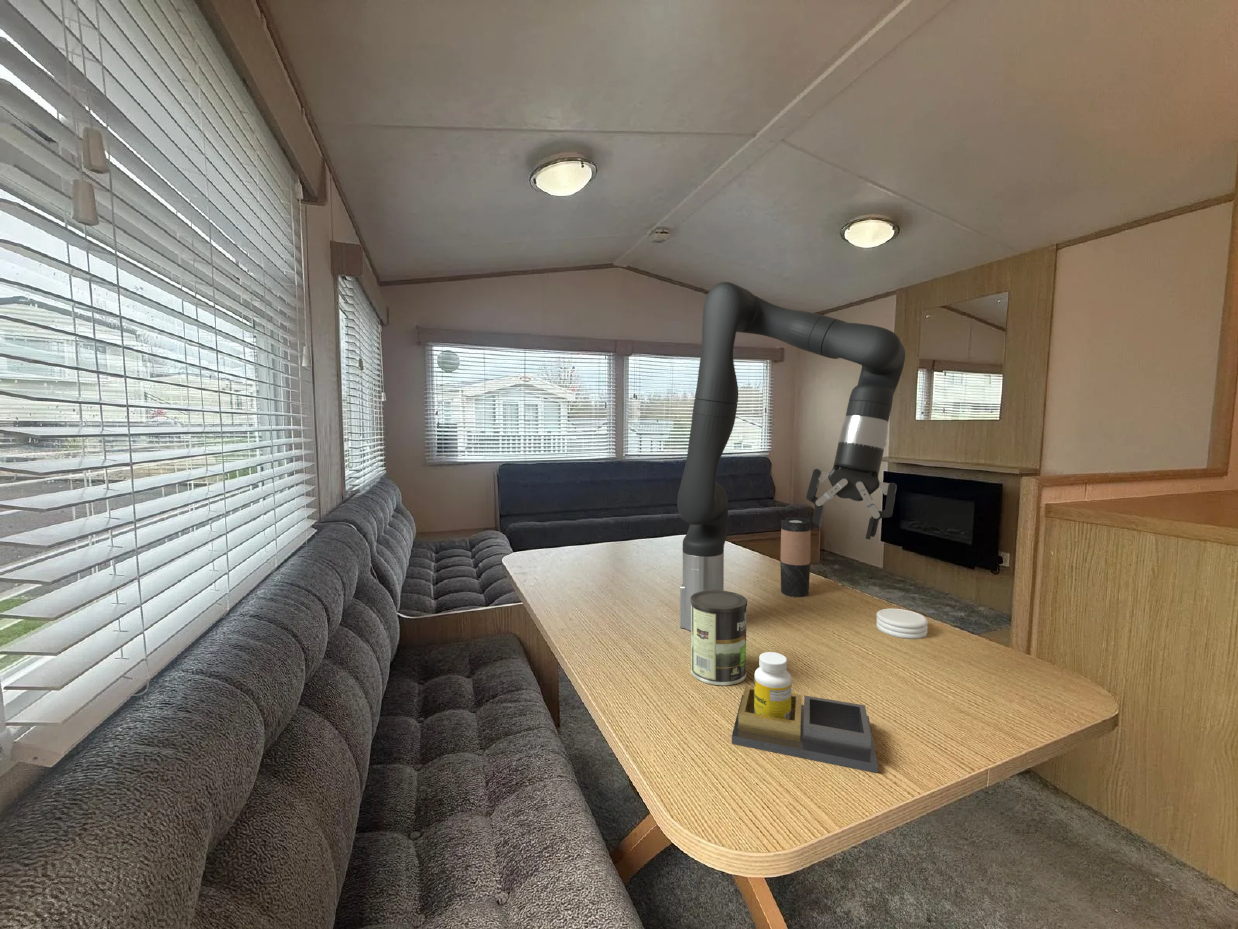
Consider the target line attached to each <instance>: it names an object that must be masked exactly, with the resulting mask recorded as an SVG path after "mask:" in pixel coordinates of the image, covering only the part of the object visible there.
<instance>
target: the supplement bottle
mask: <svg viewBox="0 0 1238 929" xmlns="http://www.w3.org/2000/svg"><path fill="white" fill-rule="evenodd" d="M758 660H759V662H758V663H759V667H758V668H756V670H755V671H754V682H753V683H754V684H753V685H754V686H753V687H754V714H759V715H765V716H770V717H776V718H781V719H787V720H791V693H792V679H793V678H792V675H791V673H790V672H789V671H788V670H787V669H788V660H787V657H786V656H784V655H783V654H781V653H778V652H774V651H772V652H771V651H767V652H766V651H765V652H763V653H761V654H760V655H759V659H758Z"/></svg>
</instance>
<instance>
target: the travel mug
mask: <svg viewBox="0 0 1238 929" xmlns="http://www.w3.org/2000/svg"><path fill="white" fill-rule="evenodd" d="M811 521H812V520H810V519H808V518H802V517H786V518H785V519H784V520H783V519H781V522H780V527H781V528H780V530H781V531H780V557H779V558H780V591H781V594H783V595H786V596H787V597H792V596H793V598H801V597H802V598H804V597H808V596H809V593H810V592H809V590H810V576H811V575H810V574H811V573H810V572H811V529H812V528H811V527H812V525H811V524H812V523H811ZM803 596H804V597H803Z"/></svg>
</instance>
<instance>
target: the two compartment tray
mask: <svg viewBox="0 0 1238 929" xmlns="http://www.w3.org/2000/svg"><path fill="white" fill-rule="evenodd" d="M744 686H745V687H744V689H743V694H742V695H741V698H740V702H739V706H738V709H737V714H736V718H735V722H734V725H733V729H732V733H731V744H732V745H736V746H741V747H747V748H753V749H755V750H756V749H757V750H761V751H762V750H763V751H765V752H771V753H778V754H783V755H786V756H791V757H796V758H800V759H801V758H802V759H806V760H811V761H817V762H821V763H827V764H831V765H835V766H841V767H846V768H850V769H855V770H861V771H865V772H871V773H877V774H878V771H879V770H878V769H879V764H878V757H877V752H876V749H875V742H874V737H873V732H872V727H871V722H870V721H871V720H870V717H869V715H868V713H867V709H866V705H865V704H861V703H860V704H859V703H854V702H853V703H852V702H846V701H840V700H835V699H829V698H822V697H815V696H810V695H803V696H804V697H802V694H799V693H797V694H796V693H793V692H791V720H787V719H781V718H776V717H770V716H765V715H759V714H754V686H748V685H744ZM802 698H804V699H802ZM802 700H803V704H802Z"/></svg>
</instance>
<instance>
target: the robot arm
mask: <svg viewBox="0 0 1238 929" xmlns="http://www.w3.org/2000/svg"><path fill="white" fill-rule="evenodd" d="M702 310H703V311H702V324H701V325H702V327H701V328H702V330H701V332H702V333H701V349H700V359H699V367H698V374H697V383H696V390H695V395H694V400H693V407H692V412H691V413H692V416H691V422H690V423H691V424H690V432H689V438H688V446H687V454H686V459H685V460H686V461H685V465H684V469H683V474H682V477H681V482H680V486H679V488H678V489H679V490H678V493H677V500H676V504H677V505H676V506H677V510H678V513H679V515H680V517H681V518H682V520H683V521H684V522H686V523H687V524H689V527H688V530H687V532H686V534H685V536H684V537H683V539H682V584H681V585H680V588H679V589H680V590H679V594H680V595H679V596H680V597H679V598H680V599H679V603H680V604H679V605H680V606H679V607H680V608H679V610H680V611H679V612H680V613H679V614H680V615H679V618H680V620H679V628H682V629H686V630H687V631H690V632H691V602H690V597H691V596H692V595H693V594H695V593H697V592H701V591H709V590H721V591H725V590H724V589H725V588H724V586H725V585H724V584H725V583H724V582H725V580H724V579H725V578H724V574H725V567H724V566H725V559H724V558H725V543H726V540H727V536H728V523H729V501H728V495H727V492H726V490H725V489H724V487H723V486H722V485H721V484H720V482H719V483H718V482H717V476H718V475H717V473H718V467H719V464H720V460H721V458H722V455H723V454H724V450H725V448H726V446H727V444H728V442H729V439H730V438H731V435H732V432H733V429H734V426H735V421H736V418H737V417H736V416H737V410H738V402H739V386H738V385H739V384H738V379H737V373H736V369H735V362H734V361H735V360H734V348H735V341H736V335H737V333H742V334H753V335H757V336H758V335H759V336H765V337H768V338H772V339H775V340H779V341H781V342H783V343H786V344H788V345H789V346H792V347H795V348H797V349H800V350H802V351H806V352H808V353H812V354H815V355H818V356H821V357H825V358H828V359H833V360H838V359H842V360H845V361H849V362H852V363H855V364H856V365H857V364H858V365H860V366H861V370H860V374H859V378H858V382H857V385H856V386H854V387H853V388H852V390H851V393H850V395H849V398H848V403H847V408H846V413H845V417H844V421H843V423H842V426H841V429H840V433H839V439H838V441H837V442H838V443H837V447H836V451H835V452H836V453H835V457H834V462H833V466H832V469H831V470H830V472H828V471H823V470H821V469H819V468H815V469H814V470H813V471H812V474H811V478H810V482H809V486H808V489H807V494H806V495H805V496H806V497H805V498H806V500H807V501H809V502H811V503H812V504H814V510H813V514H812V520H811V521H812V523H813V524H814V527H816V528H821V526H822V521H823V517H824V516H823V515H824V511H825V507H824V505H826V504H827V503H828V502H829V501H831V500H833V499H834V497H836V496H837V497H838V498H840V499H850V500H852V501H855V502H862V501H863V502H864V504H865V506H866V507H867V509H868V511H869V512H870V515H871V517H870V518H869V521H868V525H867V528H866V529H867V530H866V533H865V534H866V535H865V539H866V540H871V538H874V537H876V535H877V531H878V527H879V522H880V520H881V519H885V518H892V516H893V514H894V507H895V499H896V492H897V484H896V483H894V482H889V483H888V482H883V481H880V480H879V474H880V469H881V465H882V460H883V456H884V452H885V447H886V445H887V438H888V428H889V426H888V425H889V421H890V417H891V412H892V411H891V410H892V407H893V401H894V395H895V392H896V390H897V387H898V385H899V382H900V379H901V376H902V372H903V369H904V366H905V361H906V350H905V346H904V345H903V343H902V341H901V340H900V338H899V336H898V335H897V333H895V332H893V331H892V330H891V329H887V328H885V327H882V326H878V325H873V324H867V323H856V322H848V321H844V320H841V319H838V318H835V317H832V316H831V317H830V316H827V315H825V314H819V313H815V312H811V311H805V310H795V309H790V308H786V307H782V306H779V305H775V304H774V303H773V304H772V303H771V302H768V301H766V300H764V299H762V298H761V297H758V296H757V295H755V294H753V293H752V292H751V291H750V290H748V289H747V288H744V287H741V286H739V285H737V284H735V283H733V282H728V281H721V282H719V283H717V284H715V285H714V286H713V287H712V288H711V289H710V290H709V292H708V293H707V295H706V297H705V300H704V304H703V309H702ZM826 479H828V481H829V483H830V486H831V488H830V489H828V490H827V491H826V492H824V494H823V495H821V496H820V497H819V496H817V493H818V488H819V486H820V483H823V482H824V481H825V480H826ZM879 488H881V490H882V494H883V495H884V496H886V498H885V506H884V510H879V509H878V507H877V505H876V503H875V501H874V499H873V497H872V496H871V495H872V494H873V493H874V492H876V491H877V490H878V489H879Z"/></svg>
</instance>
